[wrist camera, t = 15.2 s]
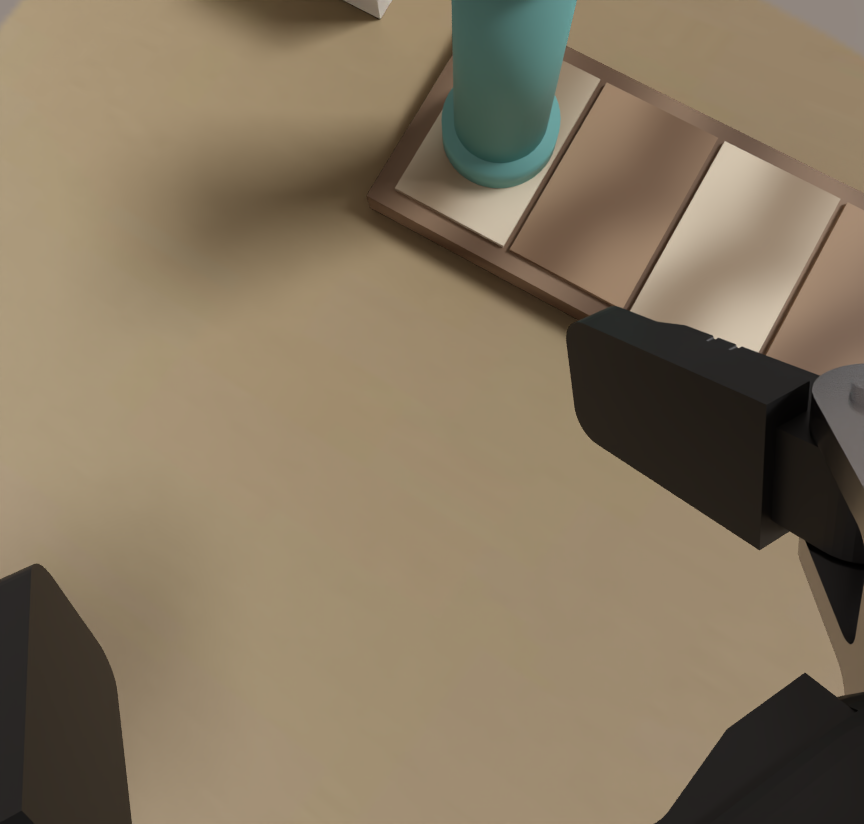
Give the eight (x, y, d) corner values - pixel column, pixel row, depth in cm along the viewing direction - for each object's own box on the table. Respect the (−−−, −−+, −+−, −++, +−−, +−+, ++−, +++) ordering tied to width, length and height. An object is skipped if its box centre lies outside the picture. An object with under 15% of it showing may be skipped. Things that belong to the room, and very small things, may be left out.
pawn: (421, 155, 29) (384, -164, 15) (478, 62, 29) (493, -331, 15) (521, 208, 28) (579, -72, 14) (577, 113, 29) (685, -247, 15)
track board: (370, 207, 30) (365, 193, 29) (482, 23, 31) (482, 1, 30) (867, 475, 28) (889, 474, 26) (973, 268, 29) (999, 256, 27)
